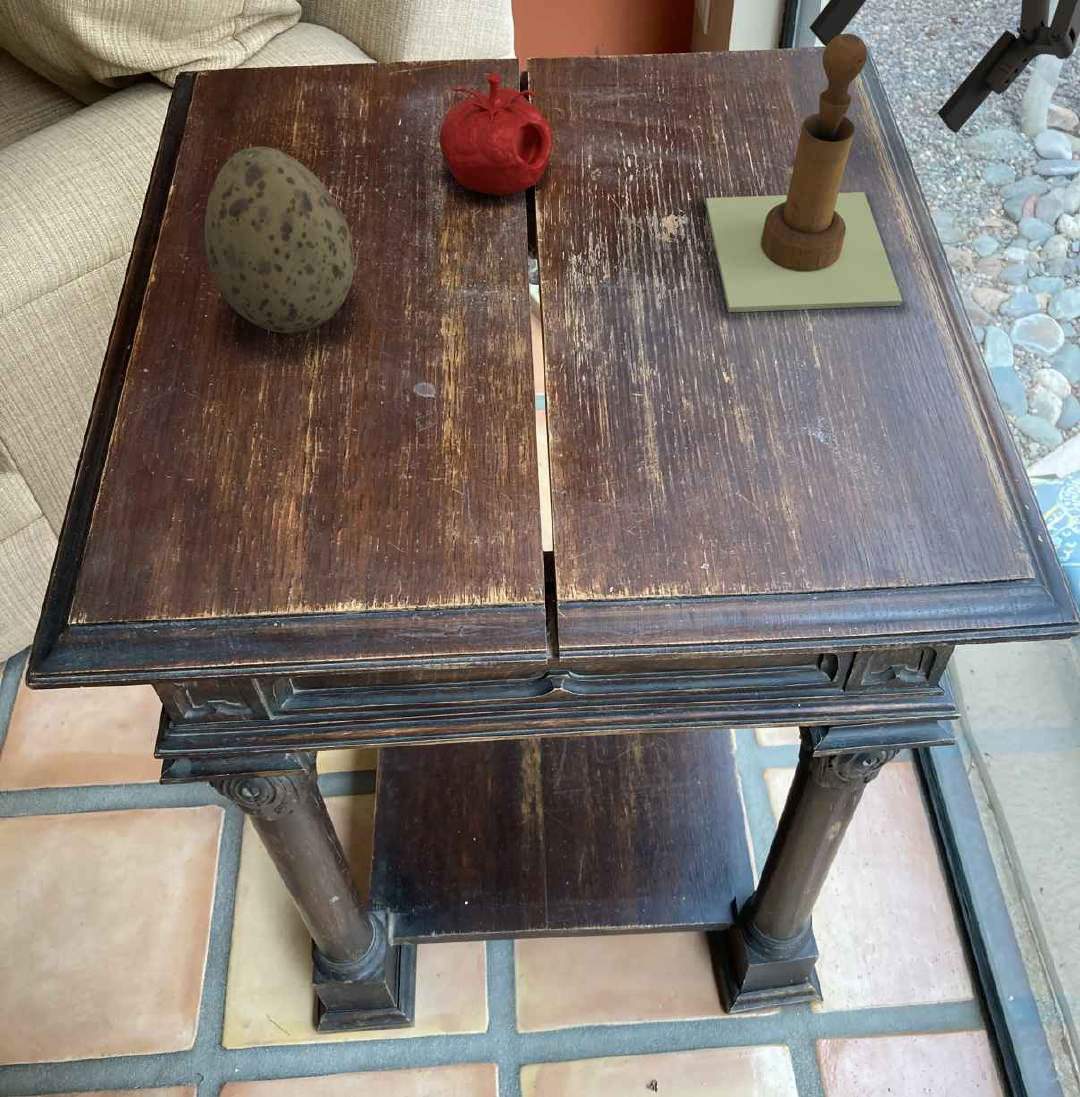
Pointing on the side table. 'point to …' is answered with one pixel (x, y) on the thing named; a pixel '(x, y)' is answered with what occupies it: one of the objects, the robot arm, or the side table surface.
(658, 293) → the side table surface
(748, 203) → the mat
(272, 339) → the side table surface
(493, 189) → the red tomato
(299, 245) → the decorative egg
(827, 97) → the mortar and pestle
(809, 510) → the side table surface
